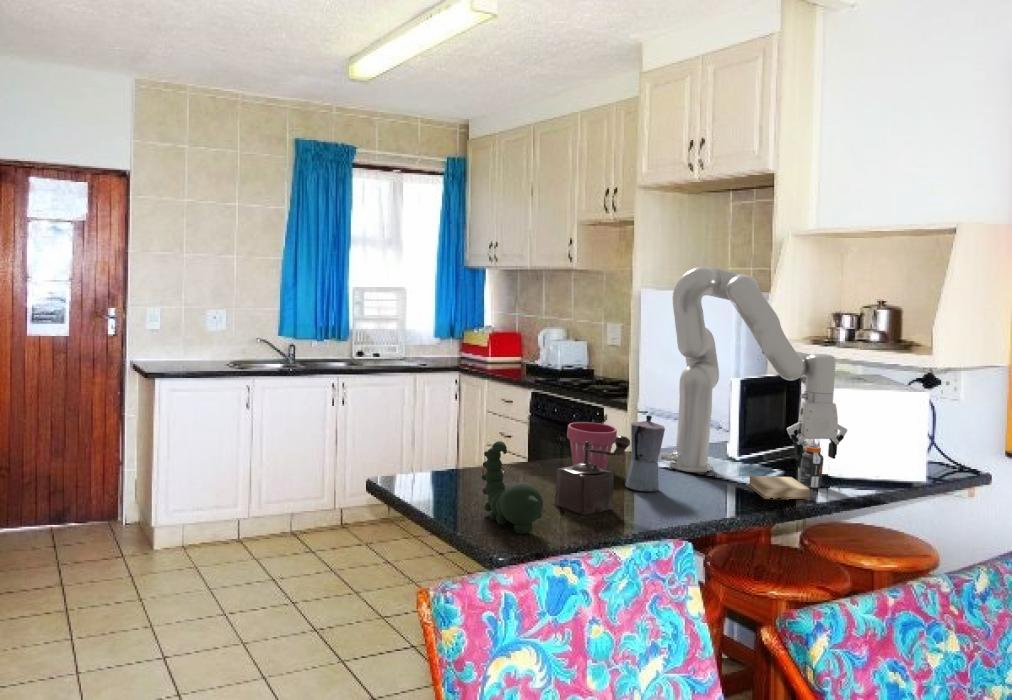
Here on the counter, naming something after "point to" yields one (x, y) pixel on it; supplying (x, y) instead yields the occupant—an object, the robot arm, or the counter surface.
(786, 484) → the base
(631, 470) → the moka pot
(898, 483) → the counter surface
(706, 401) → the robot arm
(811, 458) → the pill bottle
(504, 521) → the toy figurine
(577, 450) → the plant pot
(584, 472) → the coffee grinder
